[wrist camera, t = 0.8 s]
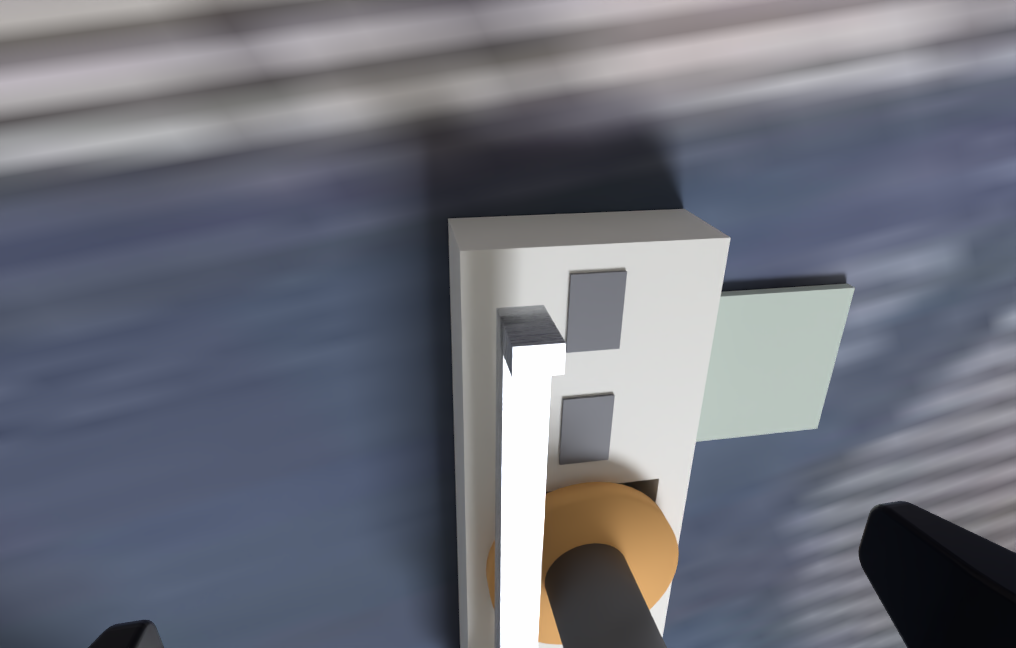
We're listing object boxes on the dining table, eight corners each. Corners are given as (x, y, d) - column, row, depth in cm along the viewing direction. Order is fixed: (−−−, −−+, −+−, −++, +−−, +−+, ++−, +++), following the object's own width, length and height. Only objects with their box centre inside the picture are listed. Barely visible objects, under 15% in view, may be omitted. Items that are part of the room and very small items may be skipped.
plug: (625, 543, 27) (716, 734, 20) (472, 564, 26) (511, 775, 18) (641, 414, 24) (754, 581, 17) (470, 430, 23) (515, 618, 16)
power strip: (626, 638, 29) (663, 728, 26) (460, 664, 28) (474, 765, 24) (684, 208, 21) (753, 251, 17) (447, 218, 19) (465, 267, 16)
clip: (536, 728, 23) (550, 790, 22) (482, 738, 23) (492, 801, 21) (558, 303, 16) (583, 341, 14) (480, 308, 16) (494, 348, 14)
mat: (810, 422, 26) (817, 428, 25) (670, 437, 25) (674, 443, 24) (847, 283, 23) (854, 287, 23) (691, 293, 22) (697, 298, 22)
